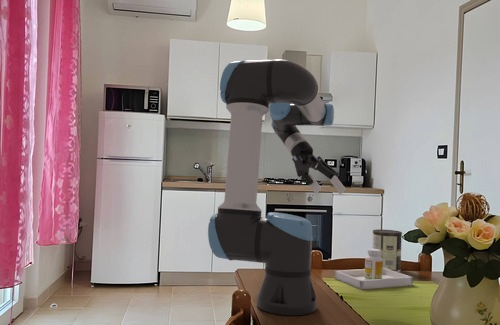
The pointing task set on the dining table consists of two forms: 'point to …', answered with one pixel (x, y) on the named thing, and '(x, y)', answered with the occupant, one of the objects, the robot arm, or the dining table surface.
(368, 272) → the supplement bottle
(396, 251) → the coffee can
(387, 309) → the dining table surface
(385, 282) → the white tray
